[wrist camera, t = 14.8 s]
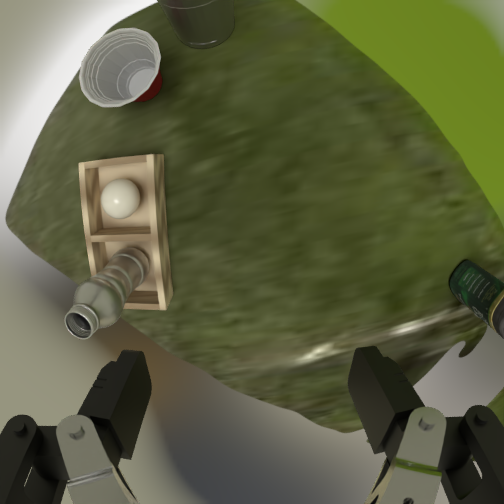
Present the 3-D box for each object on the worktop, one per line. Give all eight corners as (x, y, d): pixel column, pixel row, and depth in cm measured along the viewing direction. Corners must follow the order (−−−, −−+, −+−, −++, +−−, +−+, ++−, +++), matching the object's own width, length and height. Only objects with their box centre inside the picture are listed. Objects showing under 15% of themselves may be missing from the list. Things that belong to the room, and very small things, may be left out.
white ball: (109, 178, 42) (92, 182, 36) (144, 175, 42) (130, 178, 36) (112, 215, 43) (96, 224, 38) (146, 213, 44) (133, 222, 38)
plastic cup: (147, 131, 40) (116, 124, 29) (102, 95, 38) (64, 81, 26) (194, 77, 38) (178, 52, 27) (146, 43, 36) (119, 14, 24)
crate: (95, 161, 41) (78, 163, 36) (163, 154, 42) (153, 154, 36) (110, 292, 48) (98, 307, 43) (173, 294, 49) (166, 310, 44)
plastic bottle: (111, 247, 45) (45, 301, 26) (147, 240, 45) (91, 296, 26) (122, 282, 47) (67, 350, 28) (157, 277, 47) (113, 349, 28)
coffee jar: (442, 281, 50) (500, 326, 33) (465, 253, 48) (526, 288, 31) (459, 305, 52) (509, 350, 35) (480, 279, 51) (534, 317, 33)
